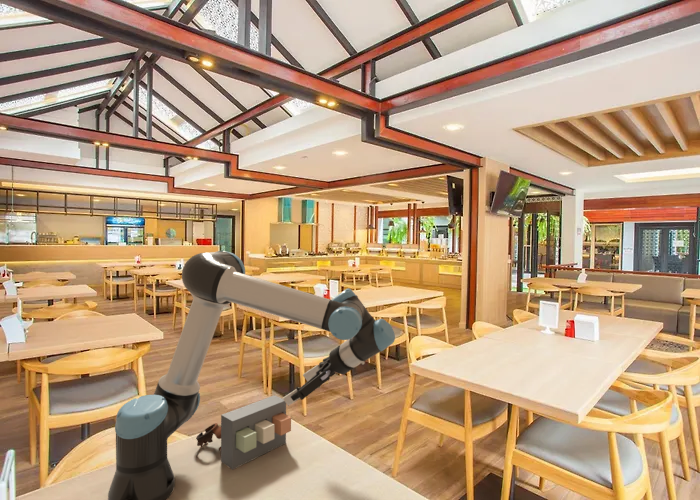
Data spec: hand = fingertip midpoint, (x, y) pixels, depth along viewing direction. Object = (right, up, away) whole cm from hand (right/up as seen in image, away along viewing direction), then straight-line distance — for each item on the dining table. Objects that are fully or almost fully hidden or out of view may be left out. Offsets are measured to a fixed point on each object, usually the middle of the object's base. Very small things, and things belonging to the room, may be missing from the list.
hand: (296, 389), depth 119 cm
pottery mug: (-26, -20, +5) cm, 33 cm away
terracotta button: (-5, -14, +3) cm, 16 cm away
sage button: (-14, -14, -6) cm, 21 cm away
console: (-13, -20, +2) cm, 24 cm away
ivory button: (-10, -14, -1) cm, 17 cm away
